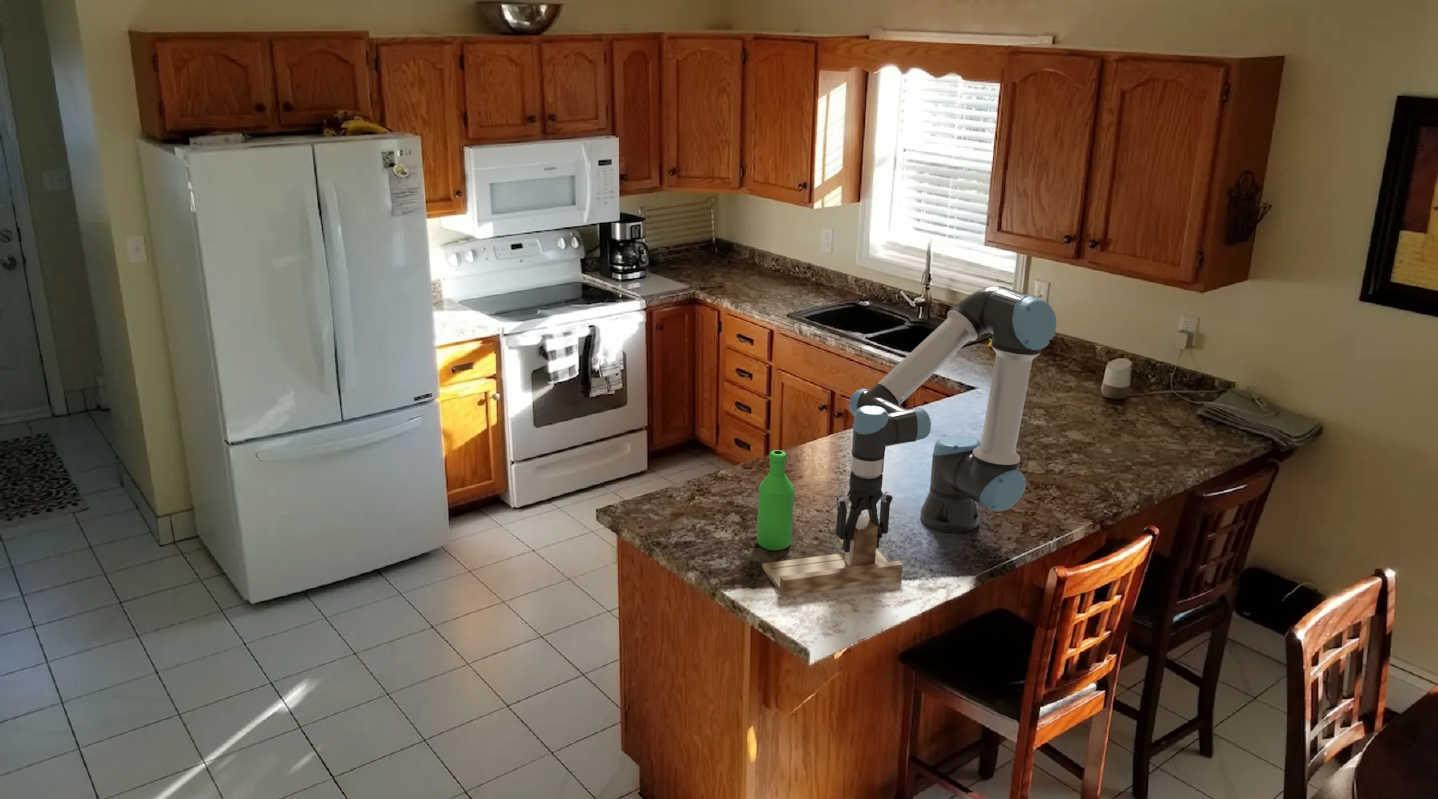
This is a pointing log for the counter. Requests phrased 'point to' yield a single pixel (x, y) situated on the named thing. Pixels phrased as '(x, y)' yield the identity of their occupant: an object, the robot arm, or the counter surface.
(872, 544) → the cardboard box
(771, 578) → the board
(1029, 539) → the counter surface
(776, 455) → the bottle
